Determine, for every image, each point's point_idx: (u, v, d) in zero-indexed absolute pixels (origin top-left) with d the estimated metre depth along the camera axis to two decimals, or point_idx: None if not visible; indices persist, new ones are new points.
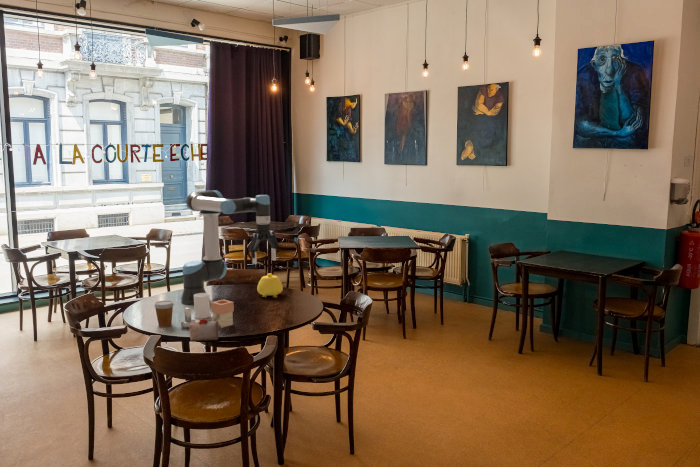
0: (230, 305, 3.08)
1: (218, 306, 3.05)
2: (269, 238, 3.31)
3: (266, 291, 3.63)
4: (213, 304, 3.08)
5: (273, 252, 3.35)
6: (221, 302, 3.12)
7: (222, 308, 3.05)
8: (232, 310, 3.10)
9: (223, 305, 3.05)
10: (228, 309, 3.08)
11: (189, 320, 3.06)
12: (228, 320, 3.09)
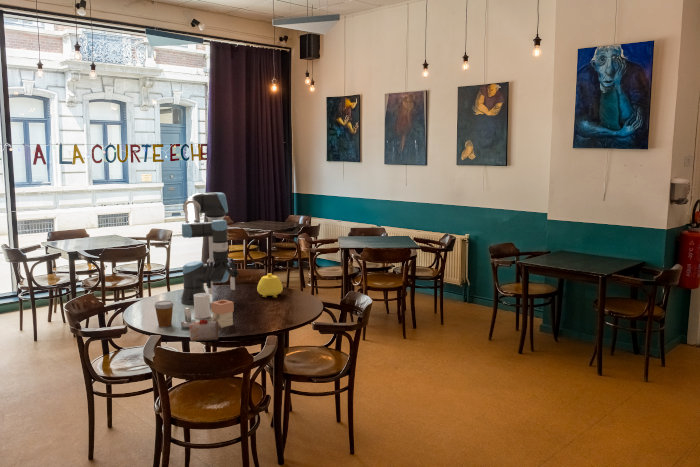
0: (230, 305, 3.08)
1: (218, 306, 3.05)
2: (227, 266, 3.07)
3: (266, 291, 3.63)
4: (213, 304, 3.08)
5: (232, 281, 3.12)
6: (221, 302, 3.12)
7: (222, 308, 3.05)
8: (232, 310, 3.10)
9: (223, 305, 3.05)
10: (228, 309, 3.08)
11: (189, 320, 3.06)
12: (228, 320, 3.09)
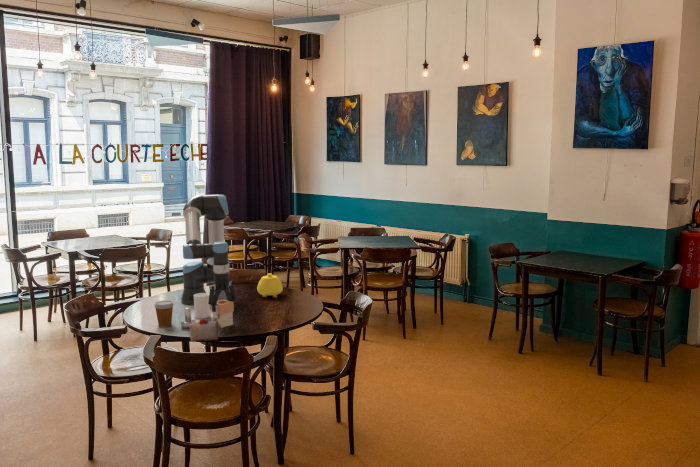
0: (230, 305, 3.08)
1: (218, 306, 3.05)
2: (227, 288, 3.09)
3: (266, 291, 3.63)
4: None
5: None
6: (221, 302, 3.12)
7: (222, 308, 3.05)
8: (232, 310, 3.10)
9: (223, 305, 3.05)
10: (228, 309, 3.08)
11: (189, 320, 3.06)
12: (228, 320, 3.09)
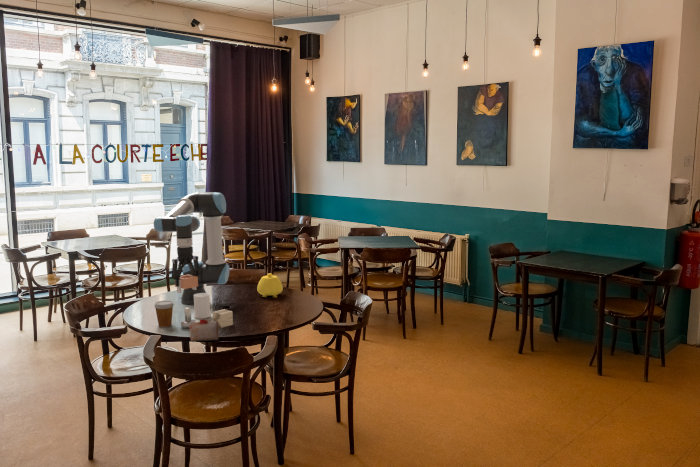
0: (194, 280, 3.02)
1: (181, 280, 2.99)
2: (191, 263, 3.03)
3: (266, 291, 3.63)
4: None
5: None
6: (185, 277, 3.06)
7: (185, 282, 2.99)
8: (196, 285, 3.04)
9: (186, 279, 2.99)
10: (192, 284, 3.02)
11: (189, 320, 3.06)
12: (228, 320, 3.09)
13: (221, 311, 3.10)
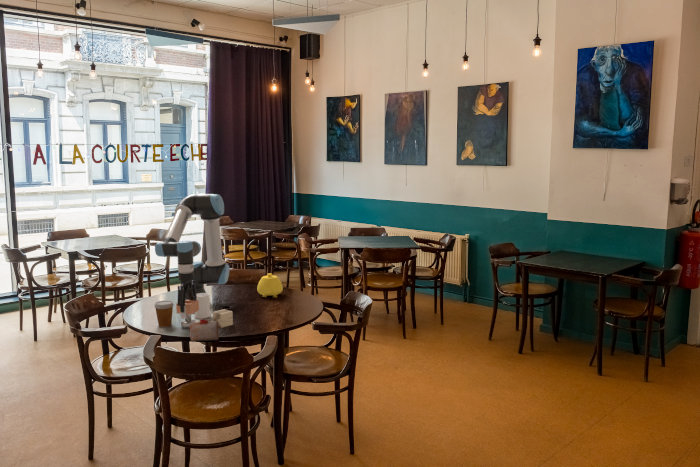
0: (196, 304, 3.07)
1: (187, 306, 3.01)
2: (191, 288, 3.06)
3: (266, 291, 3.63)
4: None
5: None
6: None
7: (191, 307, 3.02)
8: (198, 309, 3.08)
9: (192, 304, 3.02)
10: (195, 308, 3.05)
11: (189, 320, 3.06)
12: (228, 320, 3.09)
13: (221, 311, 3.10)
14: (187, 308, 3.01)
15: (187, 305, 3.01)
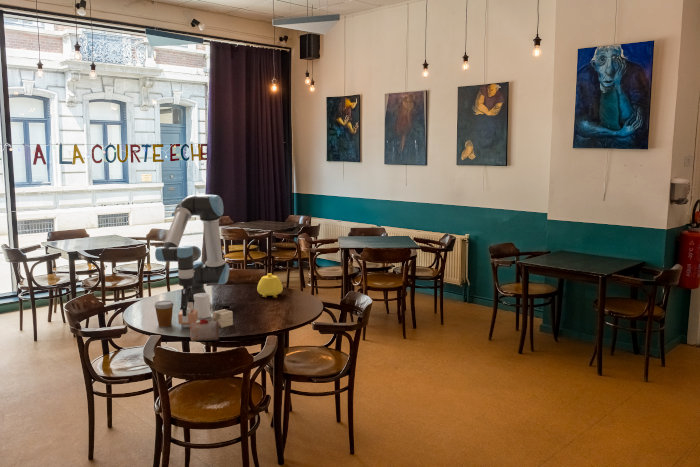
0: (196, 313, 3.09)
1: (190, 316, 3.03)
2: (191, 292, 3.07)
3: (266, 291, 3.63)
4: None
5: (191, 306, 3.12)
6: None
7: (195, 317, 3.04)
8: (197, 318, 3.10)
9: (195, 314, 3.04)
10: (196, 317, 3.08)
11: None
12: (228, 320, 3.09)
13: (221, 311, 3.10)
14: (190, 318, 3.03)
15: (190, 315, 3.02)
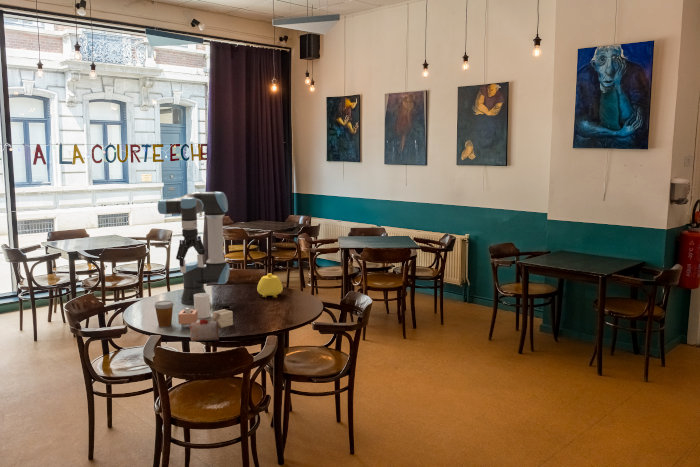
0: (196, 313, 3.09)
1: (190, 316, 3.03)
2: (196, 244, 3.07)
3: (266, 291, 3.63)
4: (182, 315, 3.02)
5: (200, 258, 3.12)
6: (183, 313, 3.07)
7: (195, 317, 3.04)
8: (197, 318, 3.10)
9: (195, 314, 3.04)
10: (196, 317, 3.08)
11: None
12: (228, 320, 3.09)
13: (221, 311, 3.10)
14: (190, 318, 3.03)
15: (190, 315, 3.02)
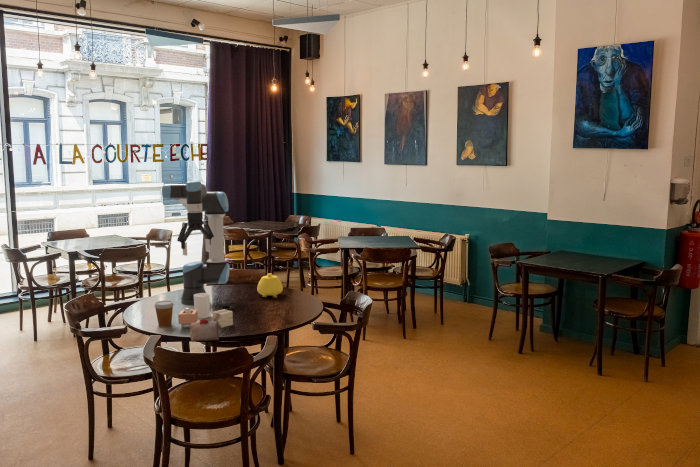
0: (196, 313, 3.09)
1: (190, 316, 3.03)
2: (201, 228, 3.08)
3: (266, 291, 3.63)
4: (182, 315, 3.02)
5: (207, 243, 3.13)
6: (183, 313, 3.07)
7: (195, 317, 3.04)
8: (197, 318, 3.10)
9: (195, 314, 3.04)
10: (196, 317, 3.08)
11: None
12: (228, 320, 3.09)
13: (221, 311, 3.10)
14: (190, 318, 3.03)
15: (190, 315, 3.02)
